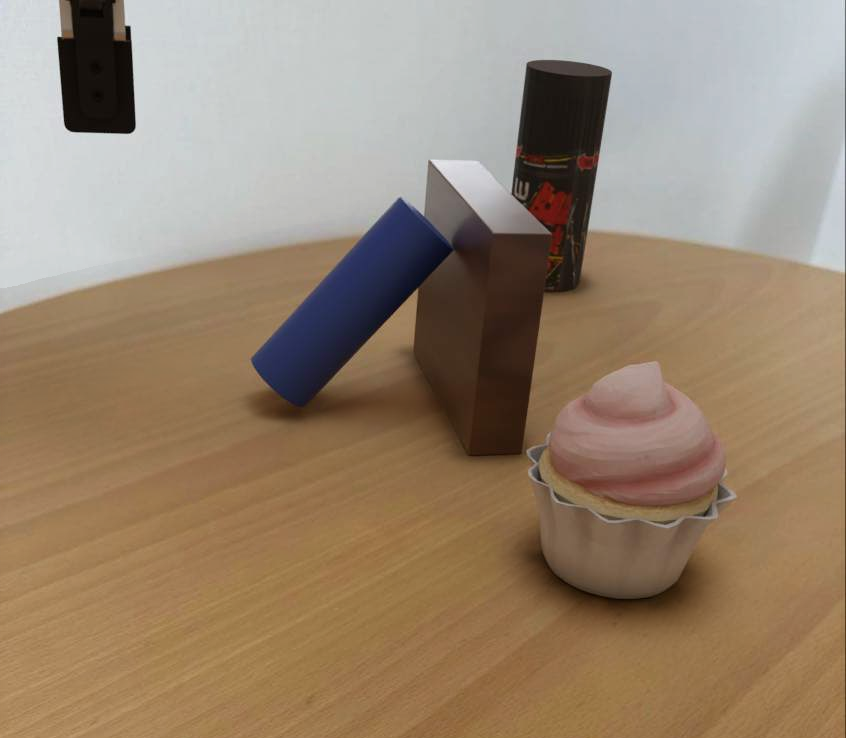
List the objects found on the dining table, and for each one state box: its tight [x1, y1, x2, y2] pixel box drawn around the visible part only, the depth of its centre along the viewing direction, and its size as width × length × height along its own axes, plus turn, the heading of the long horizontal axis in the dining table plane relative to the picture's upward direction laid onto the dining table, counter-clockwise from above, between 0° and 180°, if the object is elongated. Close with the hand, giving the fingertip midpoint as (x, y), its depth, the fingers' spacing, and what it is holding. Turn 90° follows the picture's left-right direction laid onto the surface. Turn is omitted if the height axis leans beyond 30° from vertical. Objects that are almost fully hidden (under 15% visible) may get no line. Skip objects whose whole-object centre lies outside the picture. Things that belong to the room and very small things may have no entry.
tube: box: [250, 195, 454, 409], centre depth 63 cm, size 11×4×12 cm, turn 103°
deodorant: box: [510, 59, 613, 293], centre depth 83 cm, size 6×6×15 cm
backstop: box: [412, 159, 552, 456], centre depth 64 cm, size 3×14×12 cm, turn 13°
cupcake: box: [526, 360, 738, 600], centre depth 51 cm, size 9×9×10 cm
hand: (100, 117), depth 55 cm, fingers open, 3 cm apart
